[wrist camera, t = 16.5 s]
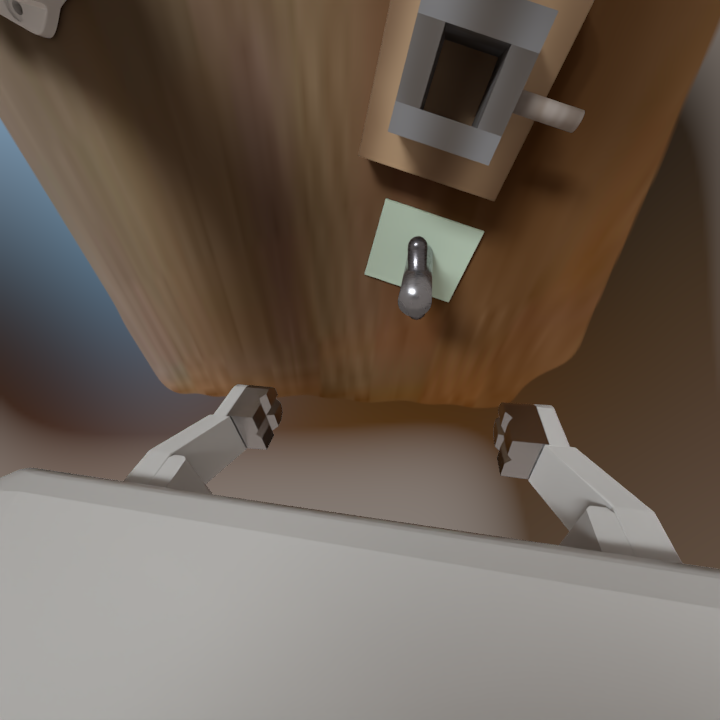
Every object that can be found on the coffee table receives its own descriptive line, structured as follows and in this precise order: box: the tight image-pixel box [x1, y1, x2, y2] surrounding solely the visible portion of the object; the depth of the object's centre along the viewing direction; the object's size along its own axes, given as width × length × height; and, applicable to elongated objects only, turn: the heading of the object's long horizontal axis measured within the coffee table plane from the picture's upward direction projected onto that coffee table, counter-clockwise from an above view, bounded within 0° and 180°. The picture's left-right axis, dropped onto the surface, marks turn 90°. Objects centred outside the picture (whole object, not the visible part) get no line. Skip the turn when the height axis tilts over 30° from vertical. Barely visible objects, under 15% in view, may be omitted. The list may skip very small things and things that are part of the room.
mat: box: [365, 198, 484, 302], centre depth 32 cm, size 10×8×1 cm
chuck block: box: [358, 0, 594, 201], centre depth 21 cm, size 14×12×8 cm
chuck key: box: [398, 236, 433, 320], centre depth 28 cm, size 8×3×10 cm, turn 6°
